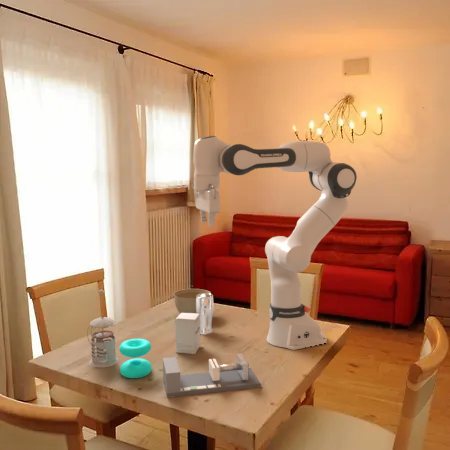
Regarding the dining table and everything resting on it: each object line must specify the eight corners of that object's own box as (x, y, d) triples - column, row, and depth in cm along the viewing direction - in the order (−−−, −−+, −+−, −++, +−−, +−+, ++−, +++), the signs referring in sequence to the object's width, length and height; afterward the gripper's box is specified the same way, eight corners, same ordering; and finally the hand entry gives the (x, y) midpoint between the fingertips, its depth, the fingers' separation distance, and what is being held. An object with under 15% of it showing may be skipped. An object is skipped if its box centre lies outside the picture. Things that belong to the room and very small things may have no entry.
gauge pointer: (215, 370, 147) (215, 358, 146) (219, 380, 140) (219, 367, 140) (208, 371, 146) (208, 359, 146) (212, 381, 140) (212, 367, 139)
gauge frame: (250, 371, 152) (250, 349, 151) (260, 386, 141) (260, 364, 140) (163, 380, 146) (162, 358, 145) (166, 397, 135) (166, 373, 134)
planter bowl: (205, 325, 196) (205, 299, 195) (168, 322, 200) (168, 297, 198) (215, 313, 211) (215, 289, 210) (181, 310, 215) (180, 287, 214)
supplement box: (195, 354, 166) (195, 319, 164) (175, 352, 167) (174, 318, 166) (200, 346, 173) (200, 313, 171) (181, 345, 174) (180, 312, 173)
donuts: (132, 351, 143) (112, 343, 150) (133, 382, 145) (113, 373, 151) (157, 342, 151) (137, 334, 157) (158, 372, 152) (138, 363, 159)
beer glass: (204, 327, 192) (204, 292, 191) (217, 331, 188) (217, 295, 186) (192, 332, 187) (192, 295, 185) (205, 336, 183) (205, 299, 181)
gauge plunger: (242, 368, 150) (242, 353, 149) (249, 379, 142) (249, 363, 141) (215, 371, 148) (215, 355, 147) (220, 382, 140) (220, 366, 139)
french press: (103, 370, 154) (100, 295, 150) (79, 362, 160) (75, 290, 156) (124, 359, 162) (122, 288, 159) (100, 352, 168) (97, 284, 165)
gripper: (224, 185, 153) (225, 227, 155) (208, 182, 173) (208, 220, 174) (205, 185, 151) (206, 228, 153) (191, 183, 171) (192, 221, 173)
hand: (207, 224), depth 164 cm, fingers open, 8 cm apart
